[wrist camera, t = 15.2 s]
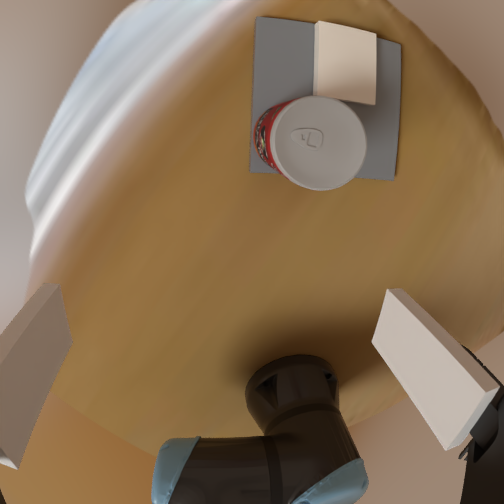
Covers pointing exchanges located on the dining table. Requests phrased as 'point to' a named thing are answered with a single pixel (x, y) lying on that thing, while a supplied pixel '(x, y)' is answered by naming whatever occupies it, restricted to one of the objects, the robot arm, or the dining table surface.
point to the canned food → (312, 141)
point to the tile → (344, 63)
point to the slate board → (301, 85)
